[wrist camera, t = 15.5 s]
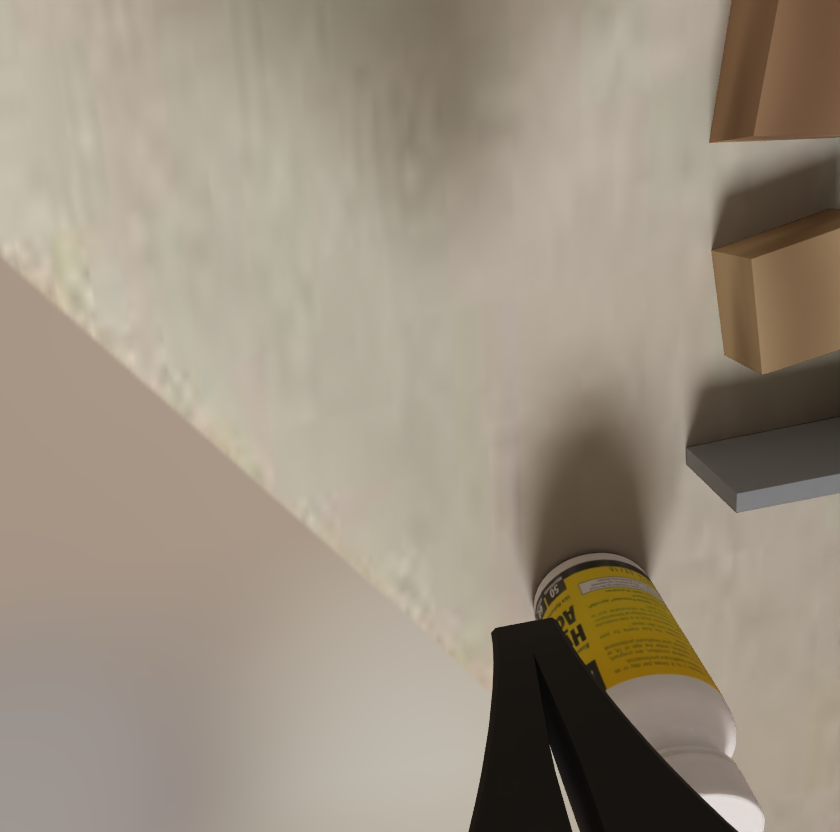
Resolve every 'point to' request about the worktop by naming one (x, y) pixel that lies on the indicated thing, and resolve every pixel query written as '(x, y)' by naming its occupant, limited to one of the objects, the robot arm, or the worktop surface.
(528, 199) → the worktop surface
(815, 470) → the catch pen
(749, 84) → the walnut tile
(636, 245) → the worktop surface
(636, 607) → the supplement bottle
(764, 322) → the oak tile
